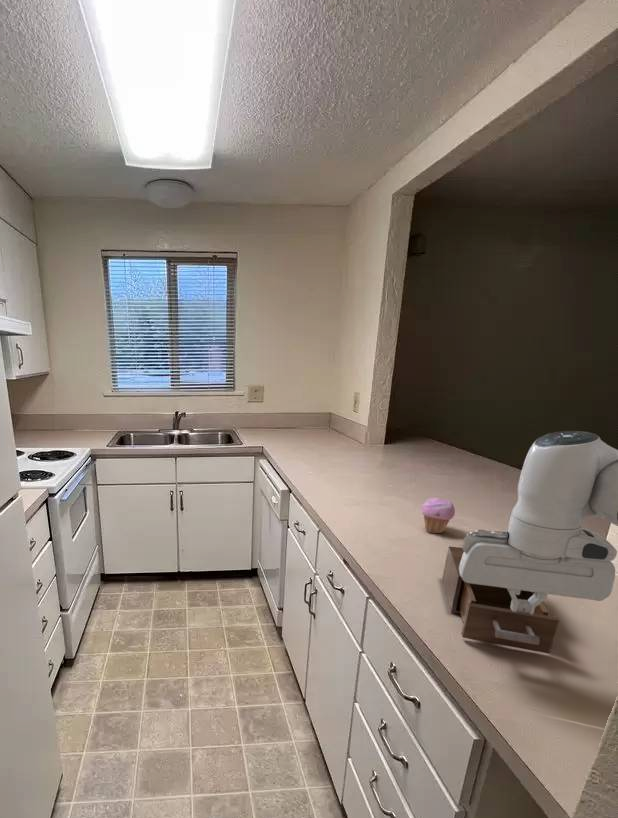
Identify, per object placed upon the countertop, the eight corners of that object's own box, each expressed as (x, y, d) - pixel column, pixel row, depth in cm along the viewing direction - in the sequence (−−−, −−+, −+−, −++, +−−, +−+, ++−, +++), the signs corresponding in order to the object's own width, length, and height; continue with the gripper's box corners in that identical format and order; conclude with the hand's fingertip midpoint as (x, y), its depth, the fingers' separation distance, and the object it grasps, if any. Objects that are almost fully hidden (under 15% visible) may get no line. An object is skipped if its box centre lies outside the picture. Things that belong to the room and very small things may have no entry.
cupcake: (416, 523, 133) (421, 492, 130) (447, 526, 131) (453, 495, 127) (420, 534, 125) (425, 502, 122) (453, 538, 123) (460, 505, 119)
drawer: (558, 671, 71) (570, 637, 69) (466, 653, 76) (474, 620, 73) (526, 611, 87) (534, 582, 85) (452, 599, 92) (458, 571, 89)
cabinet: (534, 627, 84) (546, 588, 81) (450, 613, 89) (458, 576, 86) (514, 590, 97) (523, 555, 94) (442, 579, 101) (448, 546, 98)
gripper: (469, 535, 69) (454, 610, 73) (631, 552, 62) (603, 633, 67) (462, 521, 74) (449, 591, 79) (610, 535, 67) (586, 611, 72)
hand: (521, 611), depth 73 cm, fingers closed
